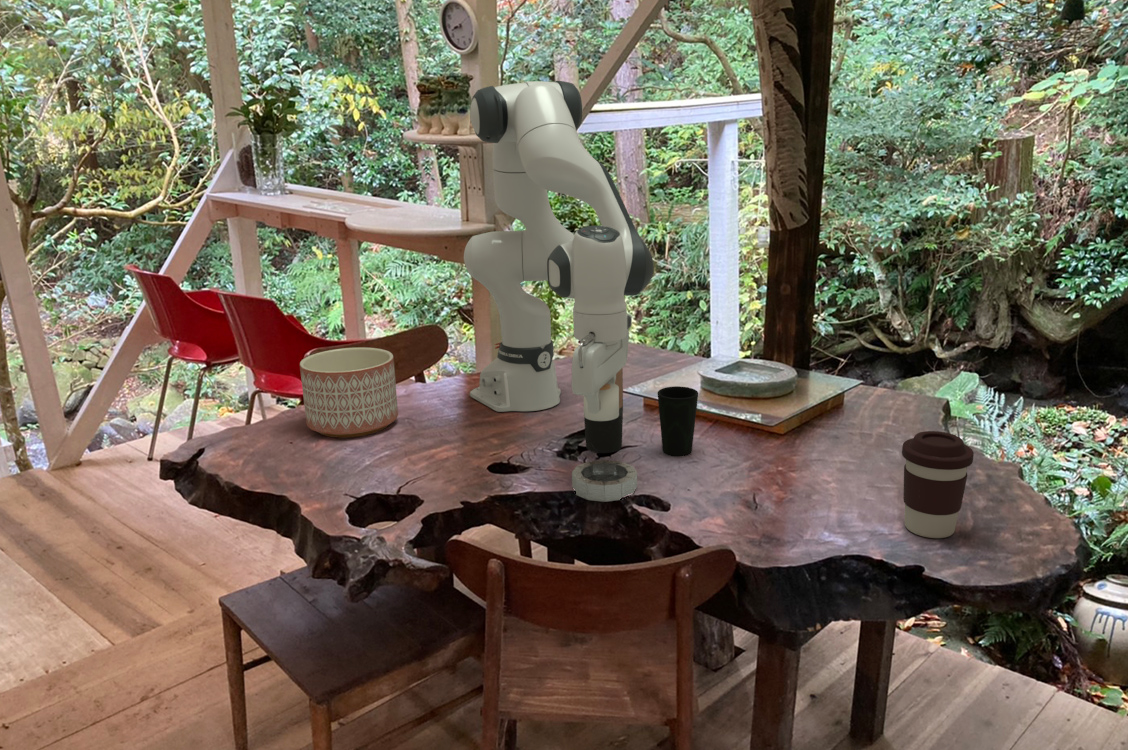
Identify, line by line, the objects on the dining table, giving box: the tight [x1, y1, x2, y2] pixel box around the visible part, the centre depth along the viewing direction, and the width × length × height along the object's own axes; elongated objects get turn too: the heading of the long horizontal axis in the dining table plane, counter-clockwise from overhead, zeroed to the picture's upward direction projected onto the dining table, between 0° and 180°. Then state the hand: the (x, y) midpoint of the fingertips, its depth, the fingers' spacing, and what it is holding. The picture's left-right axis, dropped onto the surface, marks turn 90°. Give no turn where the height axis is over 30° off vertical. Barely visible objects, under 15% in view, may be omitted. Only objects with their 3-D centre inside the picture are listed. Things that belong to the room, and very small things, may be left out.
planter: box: [299, 346, 399, 439], centre depth 186 cm, size 19×19×15 cm
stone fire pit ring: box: [571, 459, 638, 503], centre depth 153 cm, size 11×11×3 cm
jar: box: [583, 382, 619, 421], centre depth 149 cm, size 6×6×5 cm
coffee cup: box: [901, 430, 975, 539], centre depth 134 cm, size 10×10×15 cm
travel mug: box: [583, 367, 624, 454], centre depth 170 cm, size 8×8×20 cm
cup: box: [657, 385, 699, 458], centre depth 167 cm, size 8×8×12 cm
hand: (601, 405), depth 149 cm, fingers closed on jar, 6 cm apart
